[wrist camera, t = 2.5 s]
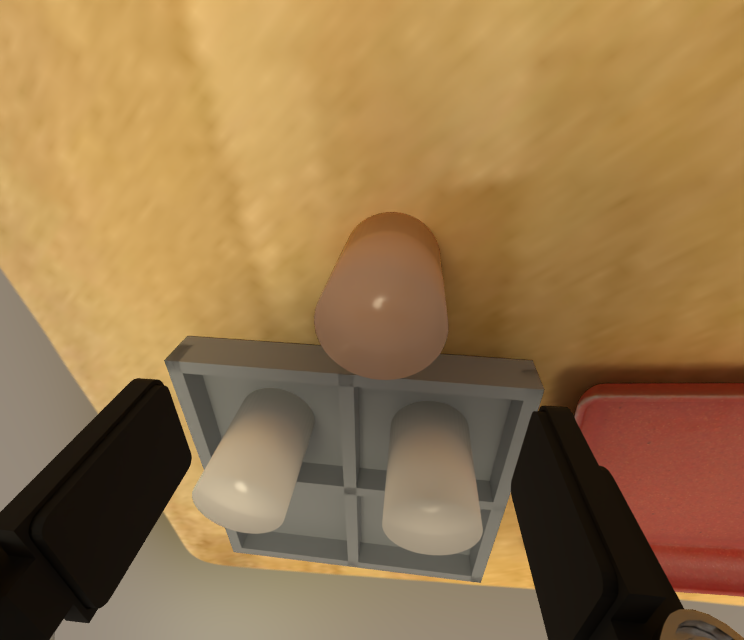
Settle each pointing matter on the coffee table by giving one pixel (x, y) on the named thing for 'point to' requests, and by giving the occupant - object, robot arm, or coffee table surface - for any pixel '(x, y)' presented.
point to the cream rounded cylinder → (431, 481)
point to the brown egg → (385, 300)
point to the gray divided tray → (358, 443)
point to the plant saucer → (677, 473)
